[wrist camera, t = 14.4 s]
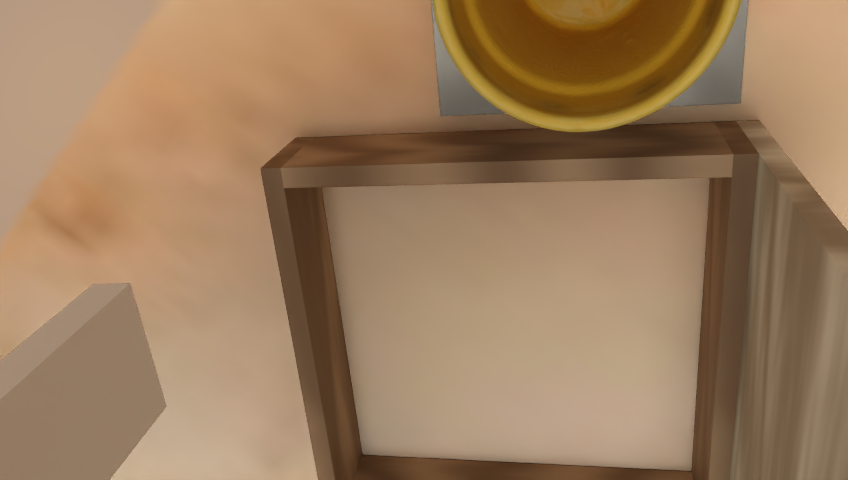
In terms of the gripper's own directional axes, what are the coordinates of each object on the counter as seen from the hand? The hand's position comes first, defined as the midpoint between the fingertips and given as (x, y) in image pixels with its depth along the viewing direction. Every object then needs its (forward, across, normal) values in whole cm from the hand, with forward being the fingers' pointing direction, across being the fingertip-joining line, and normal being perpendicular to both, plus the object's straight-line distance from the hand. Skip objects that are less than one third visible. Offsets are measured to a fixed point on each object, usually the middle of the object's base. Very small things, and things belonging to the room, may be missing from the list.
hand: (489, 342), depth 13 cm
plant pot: (+25, +2, +4) cm, 26 cm away
